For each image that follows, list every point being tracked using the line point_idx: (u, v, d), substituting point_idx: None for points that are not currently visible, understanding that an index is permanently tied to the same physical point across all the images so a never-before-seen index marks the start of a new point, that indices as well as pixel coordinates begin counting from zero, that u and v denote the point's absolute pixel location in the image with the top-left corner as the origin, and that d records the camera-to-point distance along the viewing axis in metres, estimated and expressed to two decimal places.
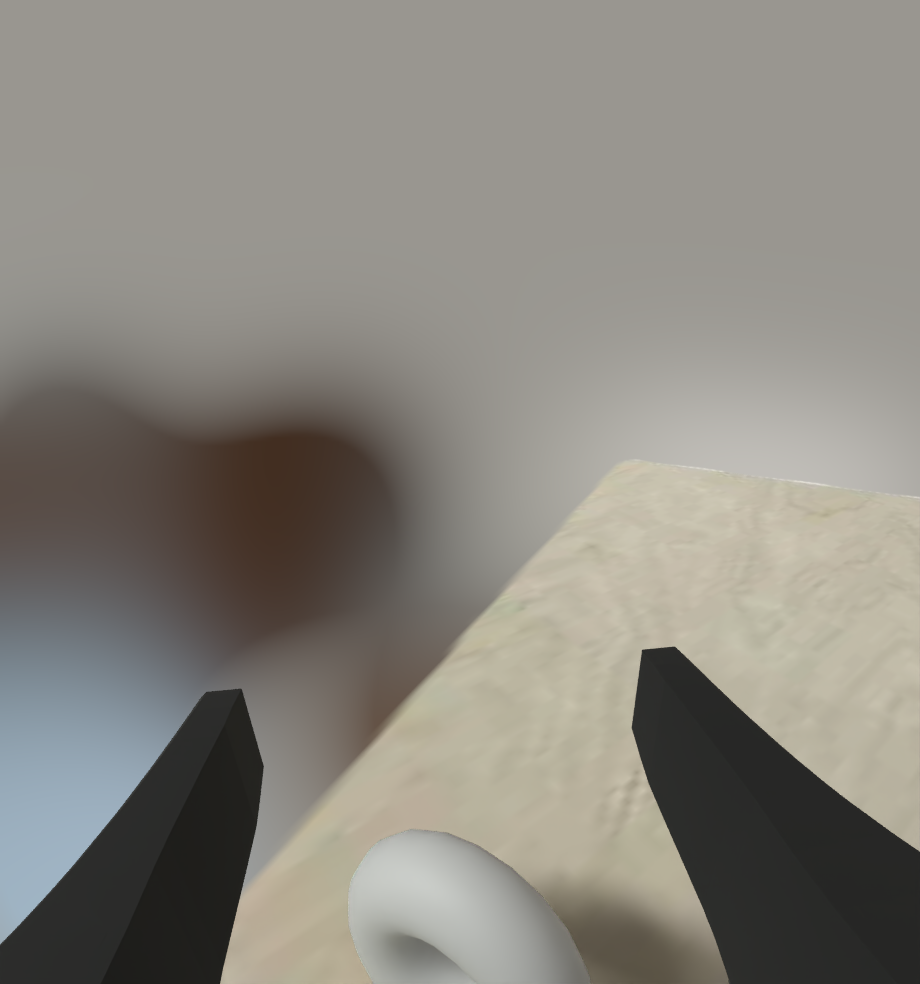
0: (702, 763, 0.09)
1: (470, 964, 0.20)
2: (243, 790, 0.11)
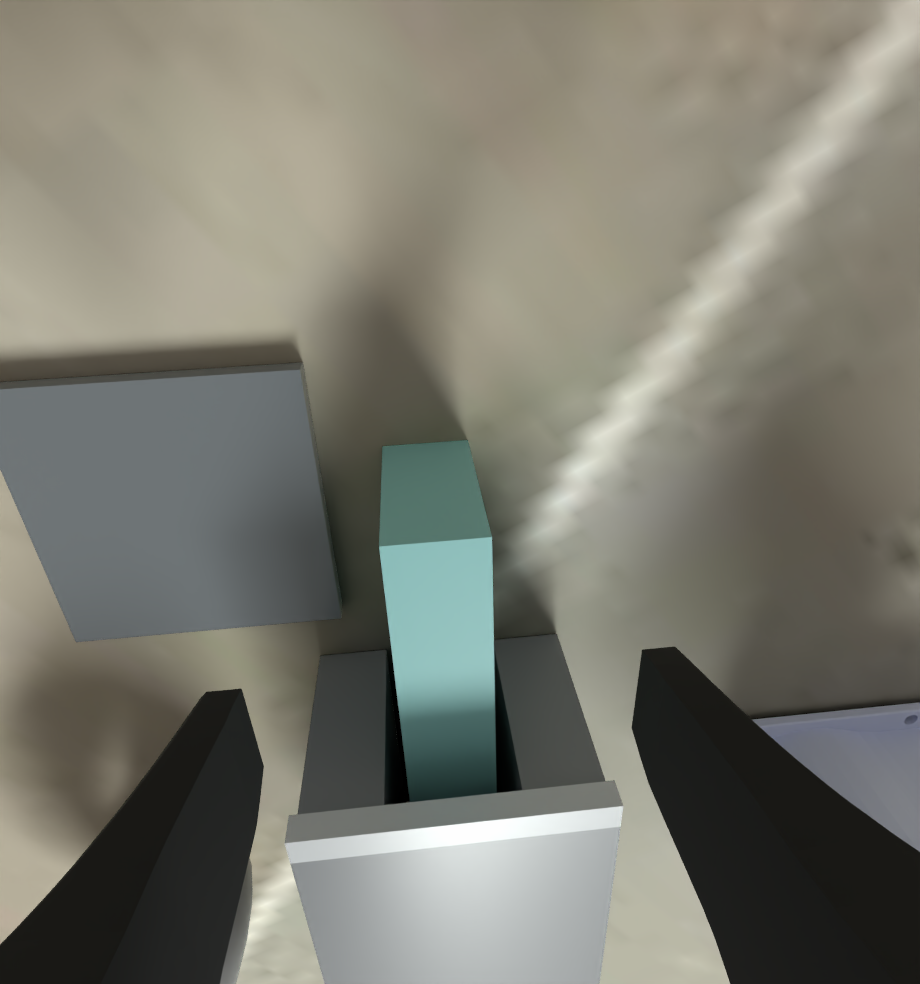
0: (702, 763, 0.09)
1: None
2: (243, 790, 0.11)
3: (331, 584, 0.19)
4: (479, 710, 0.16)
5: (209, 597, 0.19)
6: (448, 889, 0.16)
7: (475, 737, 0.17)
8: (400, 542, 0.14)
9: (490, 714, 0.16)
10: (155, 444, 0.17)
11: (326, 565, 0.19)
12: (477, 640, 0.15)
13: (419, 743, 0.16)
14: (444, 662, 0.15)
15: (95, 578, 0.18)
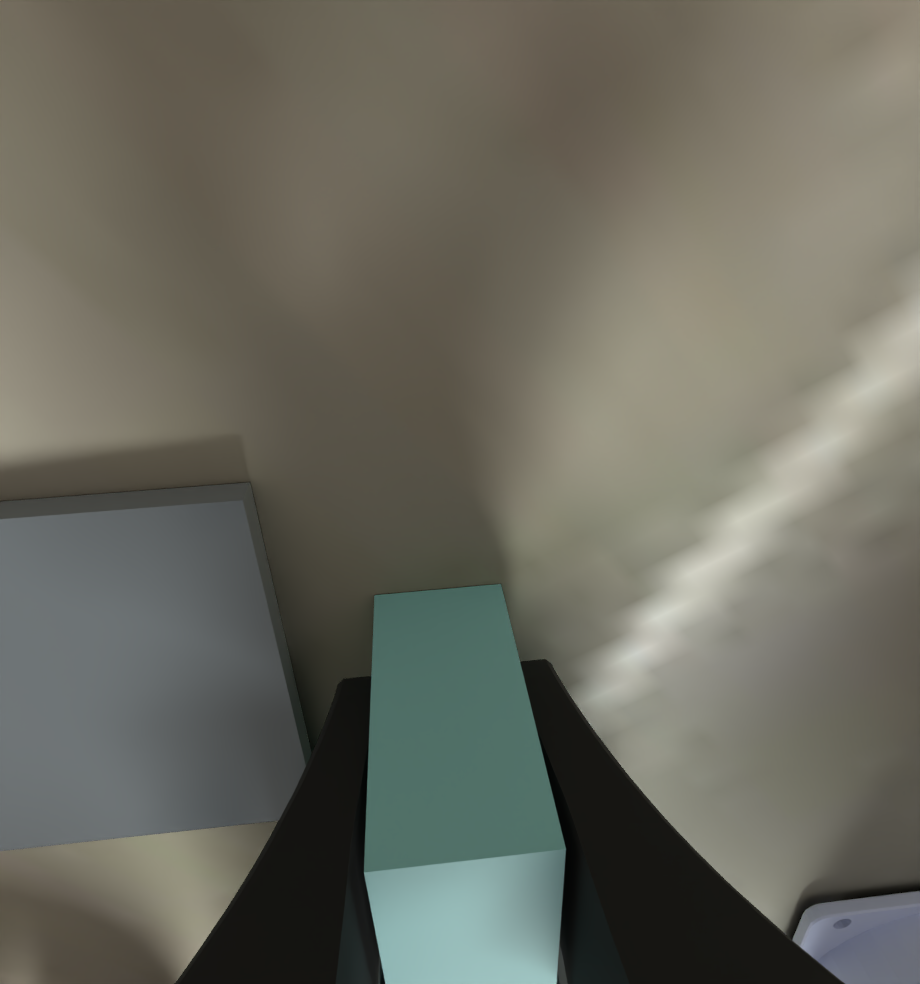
0: None
1: None
2: None
3: None
4: None
5: (125, 798, 0.13)
6: None
7: None
8: (402, 861, 0.08)
9: None
10: (22, 608, 0.11)
11: (294, 755, 0.13)
12: (530, 973, 0.09)
13: None
14: None
15: None
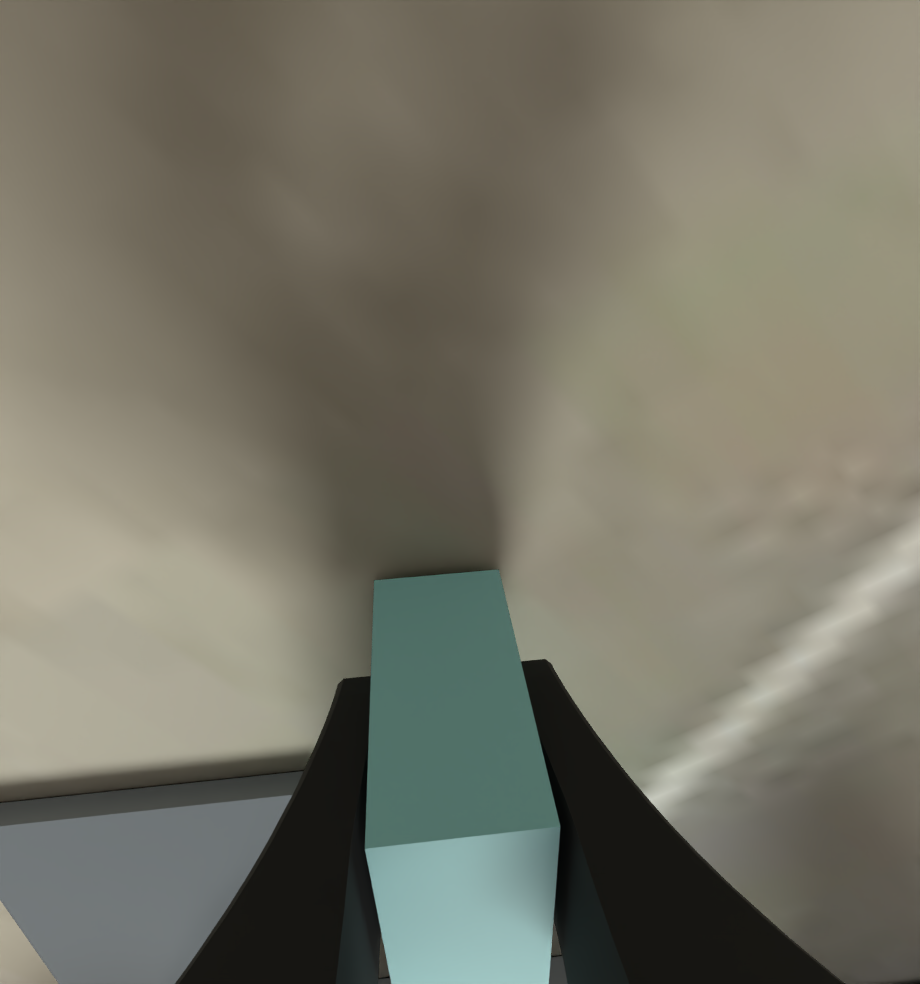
0: None
1: None
2: None
3: None
4: None
5: None
6: None
7: None
8: (402, 839, 0.08)
9: None
10: (161, 857, 0.15)
11: None
12: (525, 945, 0.09)
13: None
14: (470, 967, 0.10)
15: (95, 958, 0.17)
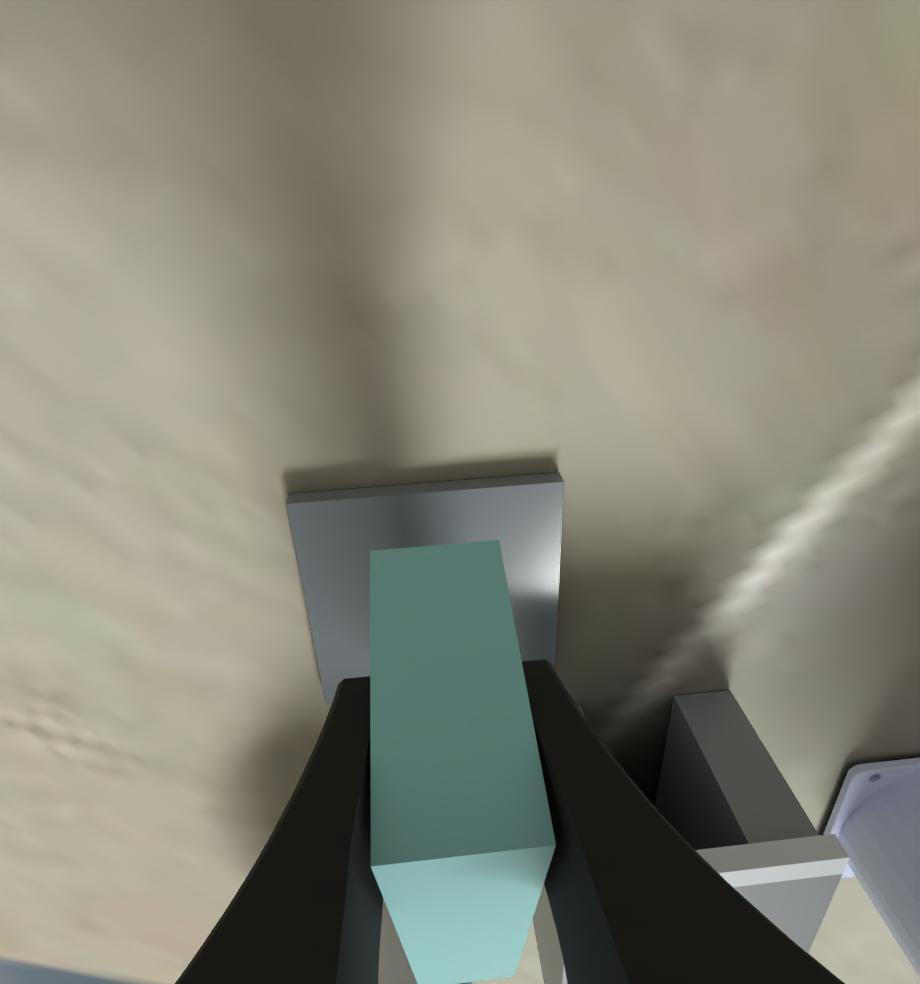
0: (545, 780, 0.09)
1: None
2: None
3: (552, 653, 0.22)
4: (507, 930, 0.12)
5: None
6: None
7: (500, 942, 0.13)
8: (405, 855, 0.08)
9: (522, 931, 0.12)
10: (430, 543, 0.19)
11: (552, 638, 0.21)
12: (515, 901, 0.10)
13: (426, 950, 0.13)
14: None
15: (355, 651, 0.21)
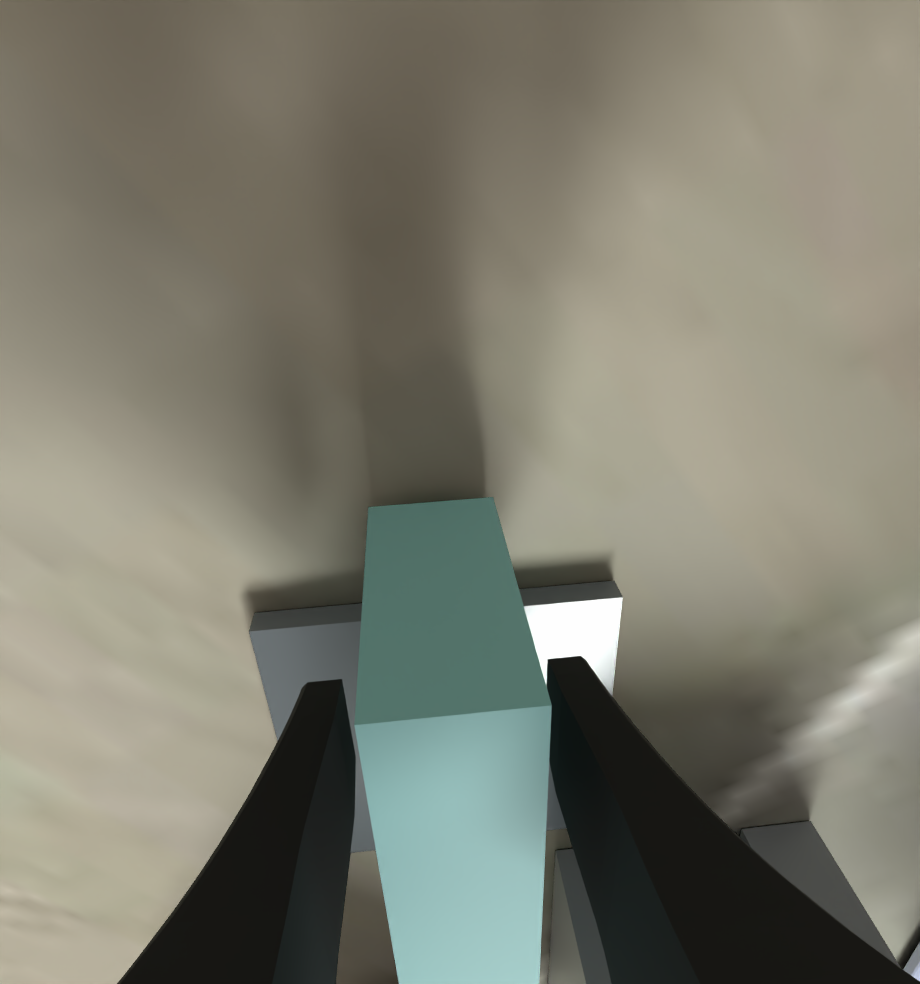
0: (588, 776, 0.09)
1: None
2: (346, 779, 0.11)
3: None
4: (516, 934, 0.10)
5: None
6: None
7: (509, 966, 0.11)
8: (392, 716, 0.08)
9: (534, 938, 0.10)
10: None
11: None
12: (518, 848, 0.09)
13: (422, 977, 0.11)
14: (463, 875, 0.10)
15: None
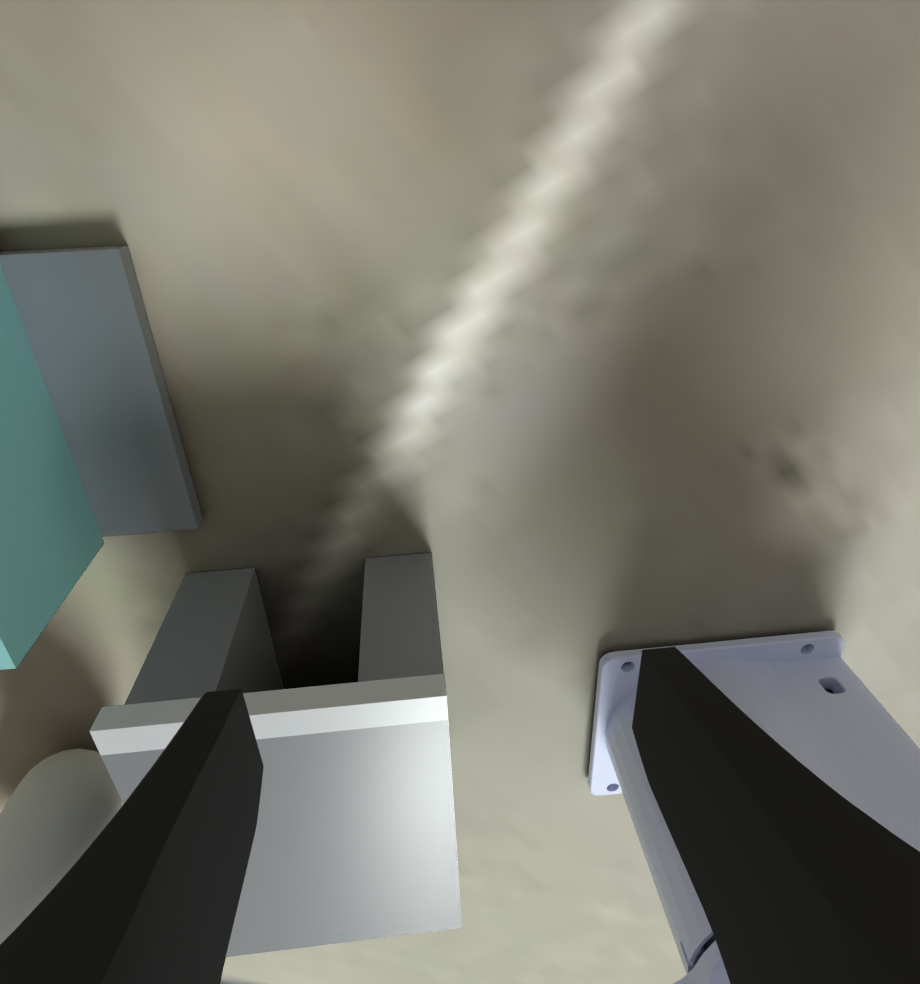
0: (702, 763, 0.09)
1: None
2: (243, 790, 0.11)
3: (182, 490, 0.19)
4: None
5: None
6: (277, 788, 0.16)
7: None
8: None
9: None
10: None
11: (175, 469, 0.18)
12: None
13: None
14: None
15: None
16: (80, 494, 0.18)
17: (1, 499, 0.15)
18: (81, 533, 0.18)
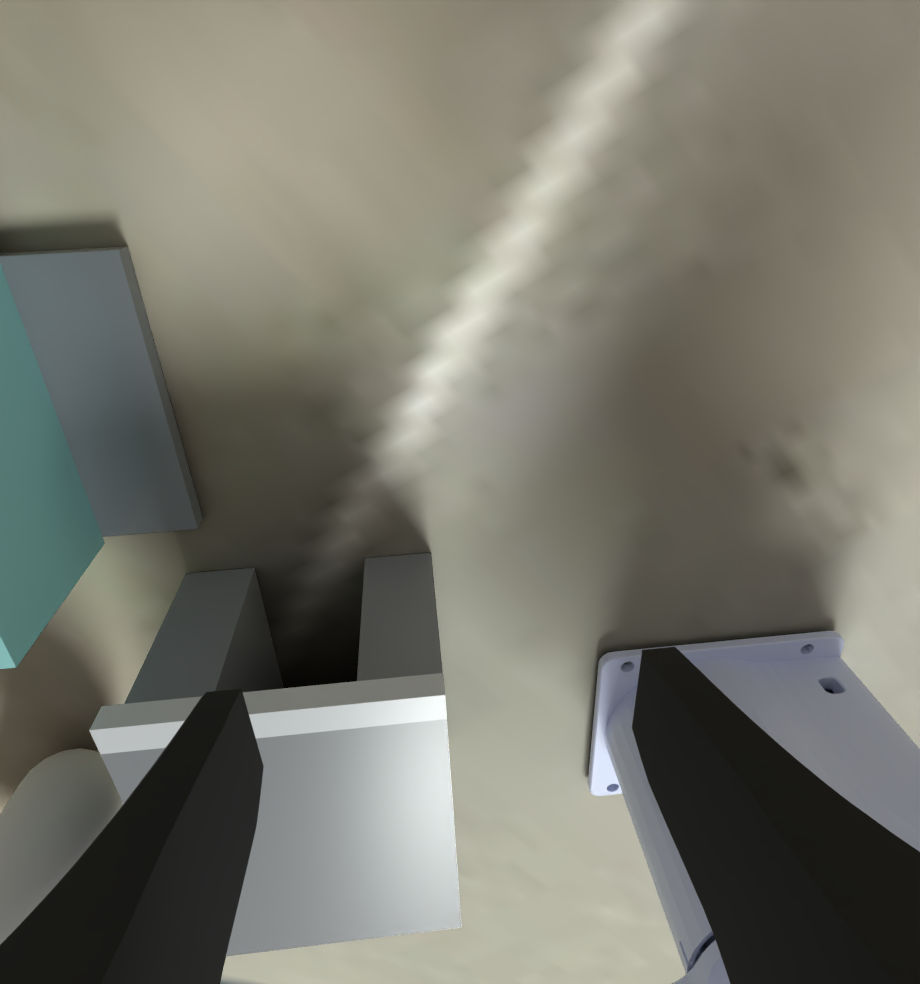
0: (702, 763, 0.09)
1: None
2: (243, 790, 0.11)
3: (182, 491, 0.19)
4: None
5: None
6: (277, 788, 0.16)
7: None
8: None
9: None
10: None
11: (175, 469, 0.18)
12: None
13: None
14: None
15: None
16: (81, 494, 0.18)
17: (2, 499, 0.15)
18: (82, 533, 0.18)
